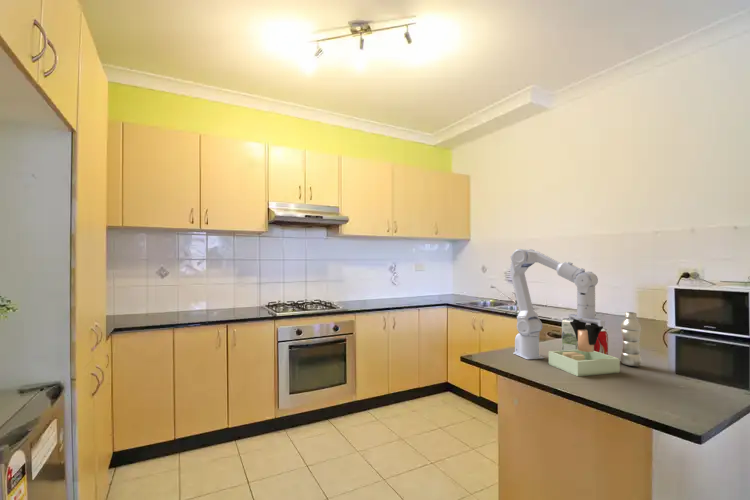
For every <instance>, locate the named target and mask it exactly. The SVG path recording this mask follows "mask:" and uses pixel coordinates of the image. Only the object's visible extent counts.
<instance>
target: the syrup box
mask: <svg viewBox="0 0 750 500" xmlns="http://www.w3.org/2000/svg"><path fill="white" fill-rule="evenodd" d="M571 321H573V320H570V319H562V321H561V351H562V350H577V349H578V341H577V339H576V335H575V332H574V329H573V327H572V325H571V324H570V322H571Z"/></svg>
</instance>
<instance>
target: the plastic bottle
mask: <svg viewBox="0 0 750 500" xmlns="http://www.w3.org/2000/svg"><path fill="white" fill-rule="evenodd" d="M637 315H638V314H637V312H633V311H625V312H624V319H623V320H622V322H621V323H620V330H621V331H620V332H621V336H622V337H621V340H622V346H621V352H620V357H619V359H620V362H621V363H622V365H626V366H629V367H640V365H641V363H642V356H641V355H642V354H641V353H640V352H641V351H640V342H641V341H640V339H641V338H640V337H641V332H642V326H641V323H640V322H639V320H637V318H638V317H637Z"/></svg>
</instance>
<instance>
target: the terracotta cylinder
mask: <svg viewBox="0 0 750 500" xmlns="http://www.w3.org/2000/svg"><path fill="white" fill-rule="evenodd" d="M578 350H580V351H584V352H594V345H589V340H588V331H587V329H580V330H578Z"/></svg>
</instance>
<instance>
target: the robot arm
mask: <svg viewBox="0 0 750 500" xmlns="http://www.w3.org/2000/svg"><path fill="white" fill-rule="evenodd" d="M510 260H511V261H510V268H509V272H510V277H511V281H512V286H513V289H514V294H515V299H516V303H517V308H518V311H519V313H518V314H517V315H516V320H517V322H516V329H517V331H518V333H517V334H516V335H515V338H514V352H513V353H512V354H513V355H516V356H519V357H521V358H523V359H525V360H541V359H545V357H544V356H542V355H540V332H541V331H542V330H543V322H542V321H541V320H540V318H539V314H538V313H537V311H535V310H534V307H533V304H532V303H533V301H532V300H531V294H530V291H529V286H528V283H527V277H526V275H525V274H526V273H525V272H527V271H528V269H529V268H530V267H531V266H533V265H534V264H535V263H537V264H541V265H543V266H545V267H548V268H550V269H552V270H554V271H556V273H557V275H558V276H559V277H561V278H563V279H565V280H568V281H570V282H571V283H573V284H574V285H575V286H576V314H574V313H569V314H568V320H573V321H571V322H570V324H571V325H572V327H573V329H574V332H575V335H576V339H577V341H578V330H580V329H584V330H587V331H588V340H589V345H595V344H596V341H597V337H598V335H599V333H600V331H601V330H602V329H604V327H606V320H605V319H604V320H603V319H600V318H598V317H596V286H597V284H598V282H599V278H598V276H597V275H596V274H595V273H594V272H593V271H586V269H585V268H582V267H581V268H580V267H578V266H576V265H573V262H570V261H568V262H567V261H563V262H559V261H558V260H556V259H553V258H552V257H550V256H548V255H547V254H546V255H545V254H544V253H541V252H540V251H538V250H535V249H532V248H530V249H529V248H528V249H526V248H525V249H523V248H517V249H515V250H514V251H513V252H512V254H511V255H510ZM585 328H586V329H585Z"/></svg>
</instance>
